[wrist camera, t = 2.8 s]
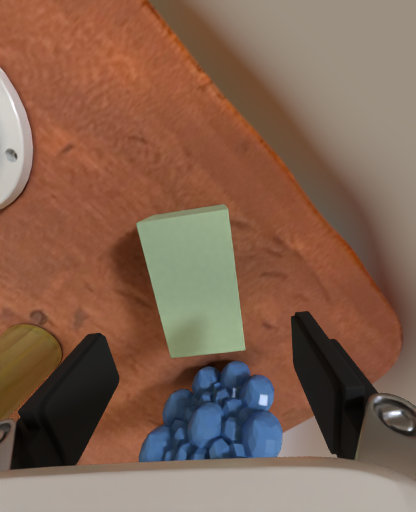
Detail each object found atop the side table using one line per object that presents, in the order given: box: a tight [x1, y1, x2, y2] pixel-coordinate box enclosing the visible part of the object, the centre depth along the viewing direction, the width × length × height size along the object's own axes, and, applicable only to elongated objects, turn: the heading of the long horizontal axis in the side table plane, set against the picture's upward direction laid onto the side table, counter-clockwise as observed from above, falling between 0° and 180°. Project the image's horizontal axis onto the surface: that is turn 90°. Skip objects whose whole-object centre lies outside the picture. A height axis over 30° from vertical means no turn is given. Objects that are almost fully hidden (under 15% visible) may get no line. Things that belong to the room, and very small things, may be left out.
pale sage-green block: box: [136, 204, 245, 358], centre depth 17 cm, size 11×6×4 cm, turn 9°
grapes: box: [139, 361, 283, 462], centre depth 17 cm, size 12×7×12 cm, turn 112°
